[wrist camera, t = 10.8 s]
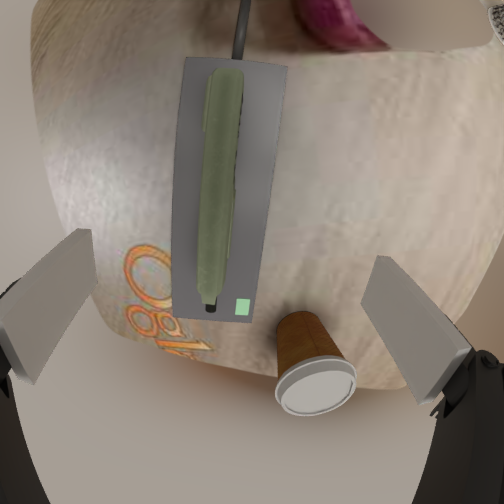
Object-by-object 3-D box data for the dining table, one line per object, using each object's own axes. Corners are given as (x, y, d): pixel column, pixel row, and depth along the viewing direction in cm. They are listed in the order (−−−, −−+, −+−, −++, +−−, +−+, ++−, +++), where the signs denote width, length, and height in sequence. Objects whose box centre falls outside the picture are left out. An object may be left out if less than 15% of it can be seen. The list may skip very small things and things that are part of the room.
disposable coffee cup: (309, 358, 41) (328, 420, 30) (253, 343, 39) (261, 412, 28) (343, 312, 38) (376, 373, 27) (285, 291, 35) (307, 359, 25)
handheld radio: (248, 84, 24) (226, 305, 34) (214, 81, 24) (199, 303, 34) (250, 69, 18) (223, 342, 28) (206, 66, 17) (191, 339, 27)
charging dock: (200, -4, 20) (199, -10, 18) (292, 5, 21) (295, 0, 20) (174, 310, 35) (172, 317, 34) (250, 315, 37) (251, 323, 35)
